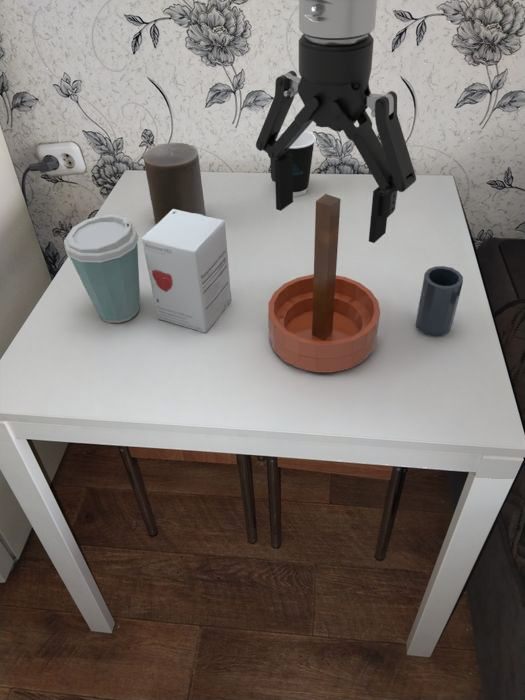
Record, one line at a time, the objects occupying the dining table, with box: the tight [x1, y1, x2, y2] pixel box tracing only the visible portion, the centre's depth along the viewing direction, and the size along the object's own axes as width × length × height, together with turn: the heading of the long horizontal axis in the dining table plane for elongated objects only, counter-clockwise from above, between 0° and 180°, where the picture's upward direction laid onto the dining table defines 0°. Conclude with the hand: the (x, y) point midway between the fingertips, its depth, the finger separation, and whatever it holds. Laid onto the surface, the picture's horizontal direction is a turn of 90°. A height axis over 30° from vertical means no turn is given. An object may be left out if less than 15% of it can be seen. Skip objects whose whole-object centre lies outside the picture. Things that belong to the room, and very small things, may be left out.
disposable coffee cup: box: [63, 213, 141, 324], centre depth 89 cm, size 11×11×15 cm
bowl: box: [267, 273, 381, 373], centre depth 85 cm, size 16×16×6 cm
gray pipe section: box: [415, 265, 464, 338], centre depth 85 cm, size 5×5×9 cm
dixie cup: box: [276, 129, 317, 197], centre depth 116 cm, size 8×8×11 cm
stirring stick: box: [312, 193, 341, 341], centre depth 79 cm, size 2×2×22 cm
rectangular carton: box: [141, 209, 232, 334], centre depth 88 cm, size 9×9×15 cm
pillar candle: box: [143, 142, 207, 225], centre depth 107 cm, size 10×10×15 cm
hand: (328, 221), depth 73 cm, fingers open, 13 cm apart
